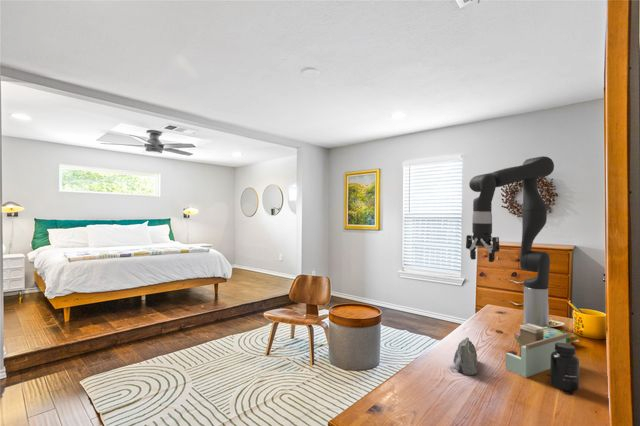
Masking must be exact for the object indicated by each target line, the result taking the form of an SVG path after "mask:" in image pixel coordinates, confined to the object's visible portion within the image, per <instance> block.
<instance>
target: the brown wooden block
mask: <svg viewBox="0 0 640 426" xmlns="http://www.w3.org/2000/svg"><path fill="white" fill-rule="evenodd" d="M519 332H520V344H519V357H521V346H525V345H526V344H529V343H533V342H536V341H539V340H543V338H544V328H542V327H539V326H535V325H532V324H529V323H528V324H520V325H519Z"/></svg>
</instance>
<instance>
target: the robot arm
mask: <svg viewBox="0 0 640 426" xmlns="http://www.w3.org/2000/svg"><path fill="white" fill-rule="evenodd" d="M552 159H553V158H550V157H548V156H546V155H545V156H537V157H536V156H535V157H531V158H527V159H525V160H524V161H523V163H522V164H521V165H518V166H517V165H516V166H511V167H505V168H502V169H498V170H496V171H493V172H489V173H485V174H483V173H482V174H478V175H475V176H473V177H472V178H471V179H470V181H469V183H468V185H469V188H470V190H471V191H473V192H474V193H475V192H476V193H479V196H478V197H476V198H474V199H473V204H472V223H471V224H472V231H471V232H472V234H469V235H468V234H467V235H466V237H465V239H466V242H465V248H466V249H465V250H469V254H470V255H469V256H470V257H469V258H470V259H471V260H476V259H477V255H476V254H477V248H478V247H484V248H485V249H487V252H488V262H489V263H494V261H495V258H496V257H495V253H497V252H500V237H498V236H494V237H493V236H492V234H493V214H492V213H493V211H492V208H493V207H492V204H493V203H492V202H493V199H494V196H495V191H496V188H500V187H504V186H507V185H511V184H515V183H517V182H520V181H522V194H523V195H522V224H521V225H522V229H521V230H522V232H521V235H522V236H521V244H520V253H519V267H520V269H521V270H522V271H527V272H532V273H533V272H534V273H537V275H536V277H535V276H534V277H531V278H525V279H524V280H523V317H522V318H523V324H522V325H524V324H528V323H529V324H532V325H535V326H539V327H542V328H543V327H549V326H550V325H549V322H550V321H549V320H550V319H549V315H550V313H549V312H550V311H549V310H550V308H549V306H550V305H549V283H550V266H551V264H550V263H551V260H550V255H549V253H548V252H546V251H535V250H532V247H533V243H534V240H535V239H536V238H537V236H538V235H539V233H540V232H541V231H542V229H543V228H544V227H545V225H546V223H547V219H548V218H547V213H548V212H547V211H548V210H547V209H548V208H547V204H546V202H545V201H544V199H543V197H542V196H541V194H540V192H539V189H538V179H539V178H545V177H548V176H549V175H551V174H553V171H554V169H555V164H554V161H553V160H552ZM548 325H549V326H548Z"/></svg>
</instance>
